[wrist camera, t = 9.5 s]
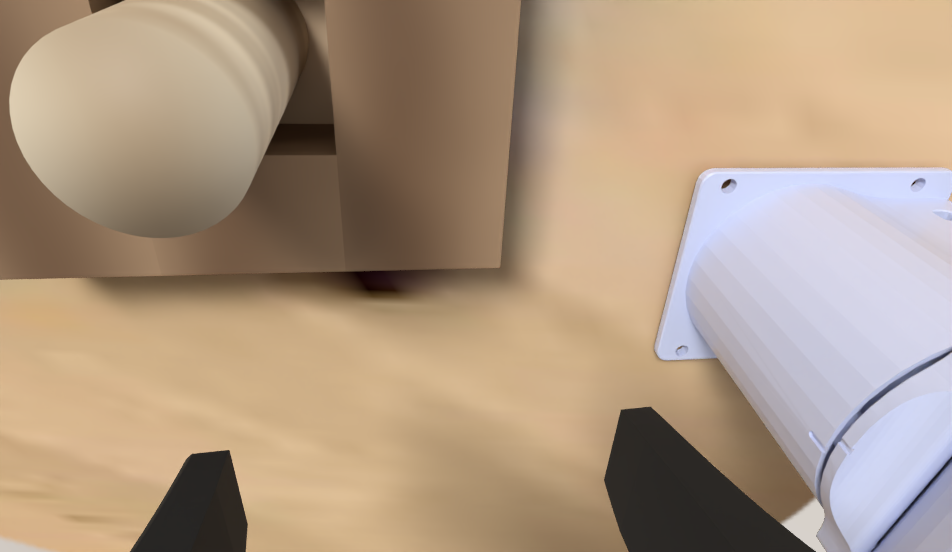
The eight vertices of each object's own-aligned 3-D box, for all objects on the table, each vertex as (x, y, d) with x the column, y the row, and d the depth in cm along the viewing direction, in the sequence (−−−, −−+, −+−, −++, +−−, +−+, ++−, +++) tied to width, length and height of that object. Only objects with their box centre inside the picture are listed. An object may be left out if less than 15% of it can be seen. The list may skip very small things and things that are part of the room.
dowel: (299, -38, 15) (232, 18, 9) (316, 101, 17) (272, 233, 11) (154, -38, 15) (-32, 19, 8) (187, 103, 17) (57, 242, 10)
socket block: (514, -238, 14) (541, -266, 12) (486, 221, 21) (500, 267, 18) (-158, -293, 13) (-295, -339, 10) (38, 227, 19) (-17, 279, 16)
